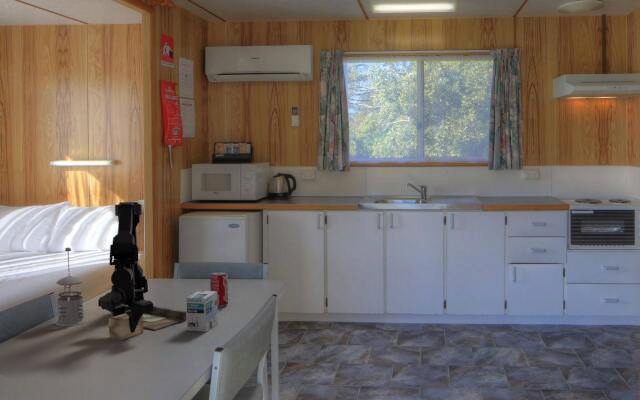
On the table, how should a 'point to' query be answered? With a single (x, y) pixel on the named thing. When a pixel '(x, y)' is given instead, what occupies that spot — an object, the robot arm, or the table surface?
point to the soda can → (220, 287)
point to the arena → (162, 318)
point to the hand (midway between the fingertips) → (126, 331)
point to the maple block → (123, 327)
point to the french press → (70, 302)
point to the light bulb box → (202, 311)
